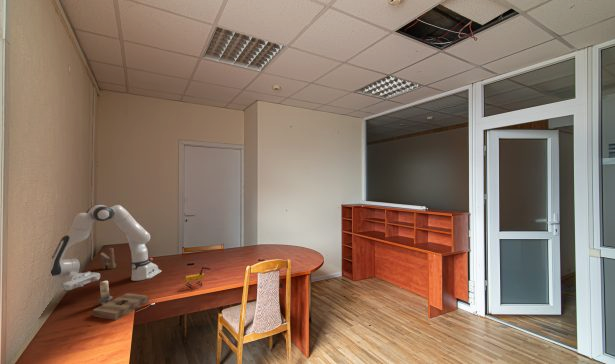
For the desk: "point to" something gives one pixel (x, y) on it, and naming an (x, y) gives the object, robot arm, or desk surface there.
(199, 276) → the robot dog
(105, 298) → the beech peg
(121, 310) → the peg hole board
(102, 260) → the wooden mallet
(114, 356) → the desk surface
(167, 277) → the desk surface
